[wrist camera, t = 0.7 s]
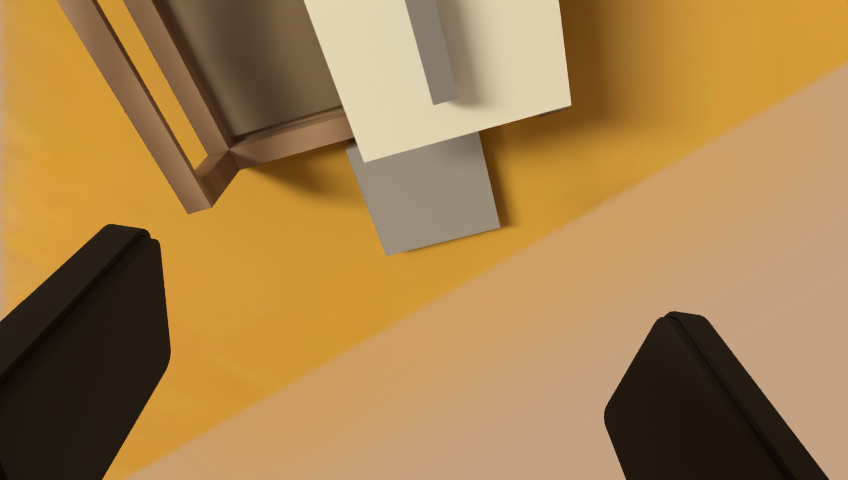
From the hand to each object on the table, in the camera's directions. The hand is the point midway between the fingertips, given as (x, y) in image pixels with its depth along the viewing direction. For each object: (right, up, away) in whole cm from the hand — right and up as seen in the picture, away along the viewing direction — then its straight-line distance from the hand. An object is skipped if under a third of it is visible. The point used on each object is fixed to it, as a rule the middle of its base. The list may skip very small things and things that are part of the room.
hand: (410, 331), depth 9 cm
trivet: (0, +6, +27) cm, 27 cm away
